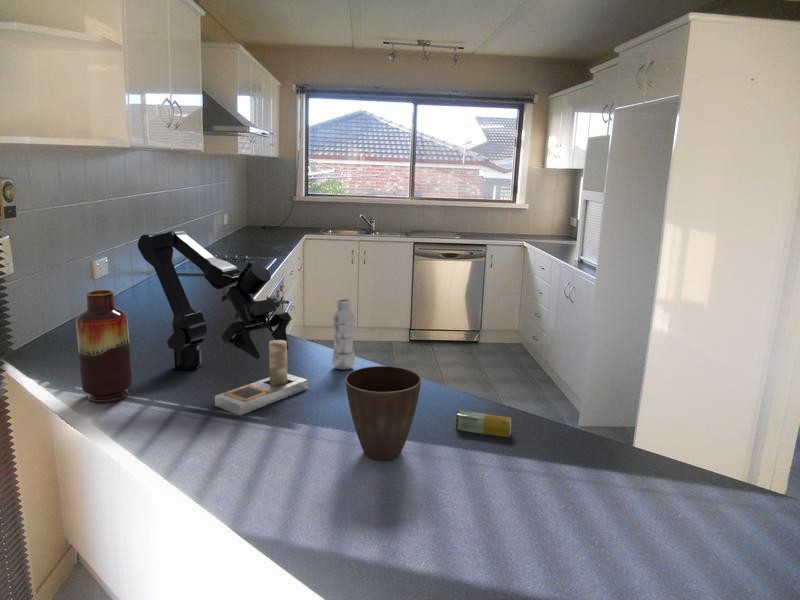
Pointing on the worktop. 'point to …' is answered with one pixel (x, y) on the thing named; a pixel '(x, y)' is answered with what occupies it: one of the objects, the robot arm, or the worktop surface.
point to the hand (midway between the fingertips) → (273, 354)
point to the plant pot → (382, 408)
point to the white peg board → (258, 394)
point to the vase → (104, 349)
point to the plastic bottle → (343, 336)
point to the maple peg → (278, 362)
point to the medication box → (483, 423)
